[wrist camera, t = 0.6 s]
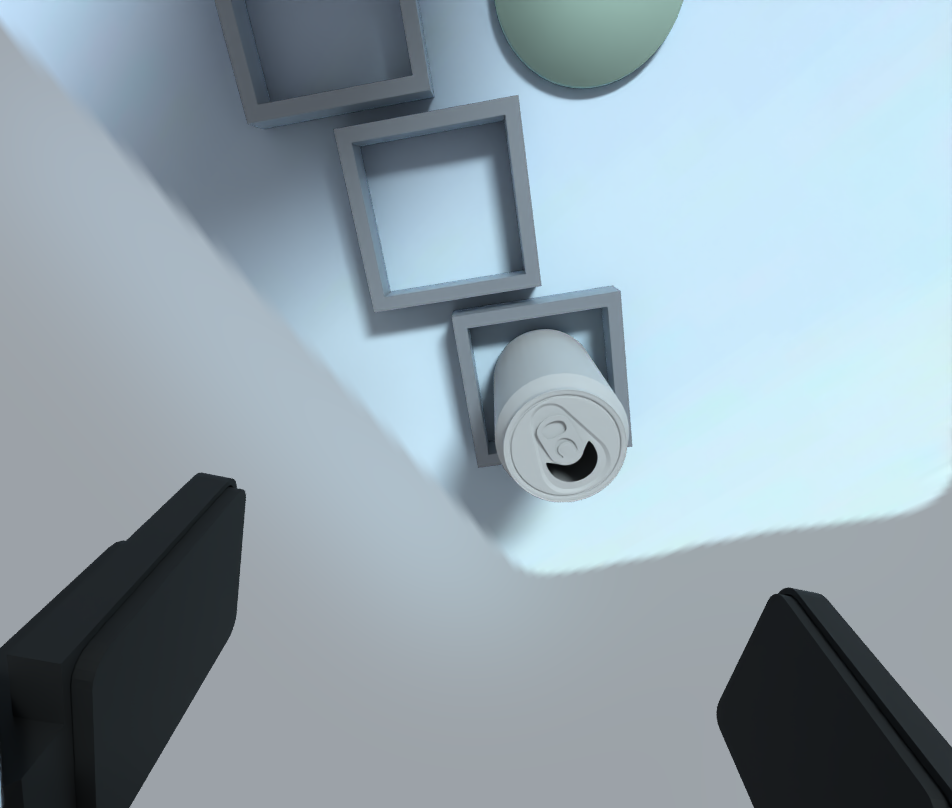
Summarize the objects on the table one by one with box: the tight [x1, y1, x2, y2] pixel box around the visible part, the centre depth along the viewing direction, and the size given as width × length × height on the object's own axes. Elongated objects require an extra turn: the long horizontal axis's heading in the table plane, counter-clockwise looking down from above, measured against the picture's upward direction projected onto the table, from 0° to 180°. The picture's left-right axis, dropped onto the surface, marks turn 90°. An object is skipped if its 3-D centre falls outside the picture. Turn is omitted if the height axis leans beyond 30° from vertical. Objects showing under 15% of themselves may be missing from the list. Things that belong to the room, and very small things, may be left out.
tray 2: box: [333, 95, 541, 313], centre depth 32 cm, size 10×10×2 cm
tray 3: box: [452, 286, 632, 468], centre depth 36 cm, size 10×10×2 cm
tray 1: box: [215, 0, 434, 129], centre depth 29 cm, size 10×10×2 cm
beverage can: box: [494, 329, 629, 502], centre depth 31 cm, size 6×6×12 cm
